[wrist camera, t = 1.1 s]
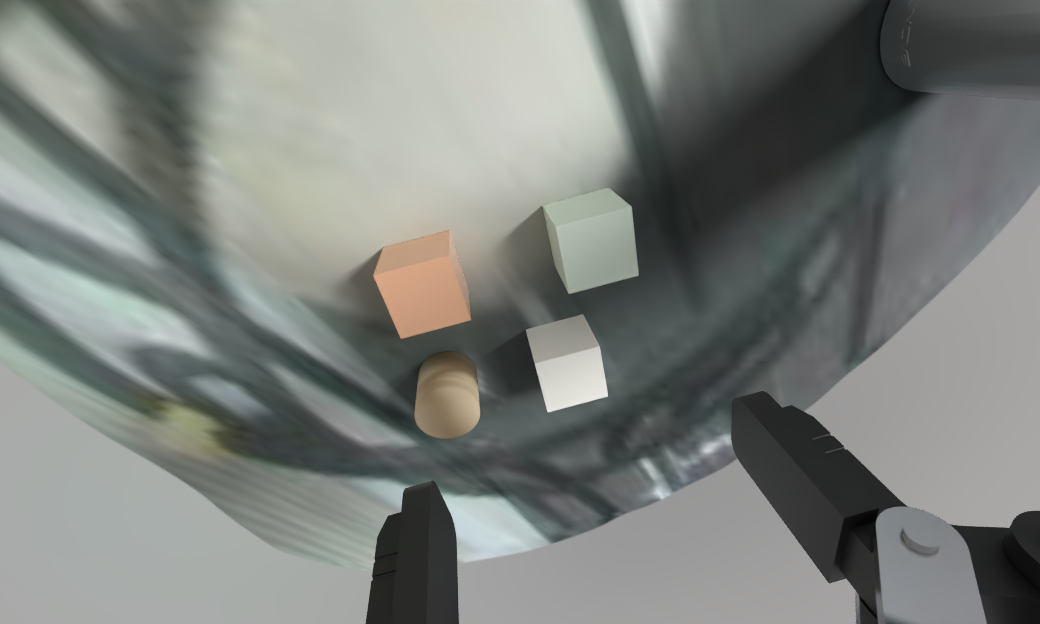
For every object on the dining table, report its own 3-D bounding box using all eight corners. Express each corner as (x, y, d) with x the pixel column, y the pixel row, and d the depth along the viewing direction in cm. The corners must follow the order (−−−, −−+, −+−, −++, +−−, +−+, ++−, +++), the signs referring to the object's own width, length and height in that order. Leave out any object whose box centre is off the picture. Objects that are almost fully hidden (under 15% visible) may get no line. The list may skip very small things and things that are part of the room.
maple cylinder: (467, 344, 38) (469, 381, 34) (483, 389, 41) (487, 429, 36) (410, 360, 38) (405, 398, 34) (429, 404, 41) (426, 445, 36)
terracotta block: (449, 229, 33) (449, 255, 29) (468, 288, 36) (470, 320, 32) (383, 247, 33) (373, 275, 29) (406, 305, 36) (401, 338, 32)
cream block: (582, 313, 38) (599, 346, 34) (591, 360, 41) (608, 396, 37) (525, 329, 38) (534, 363, 34) (537, 374, 41) (547, 412, 37)
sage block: (608, 187, 33) (631, 206, 29) (615, 249, 36) (638, 275, 32) (542, 204, 33) (555, 226, 29) (554, 265, 36) (568, 294, 32)
